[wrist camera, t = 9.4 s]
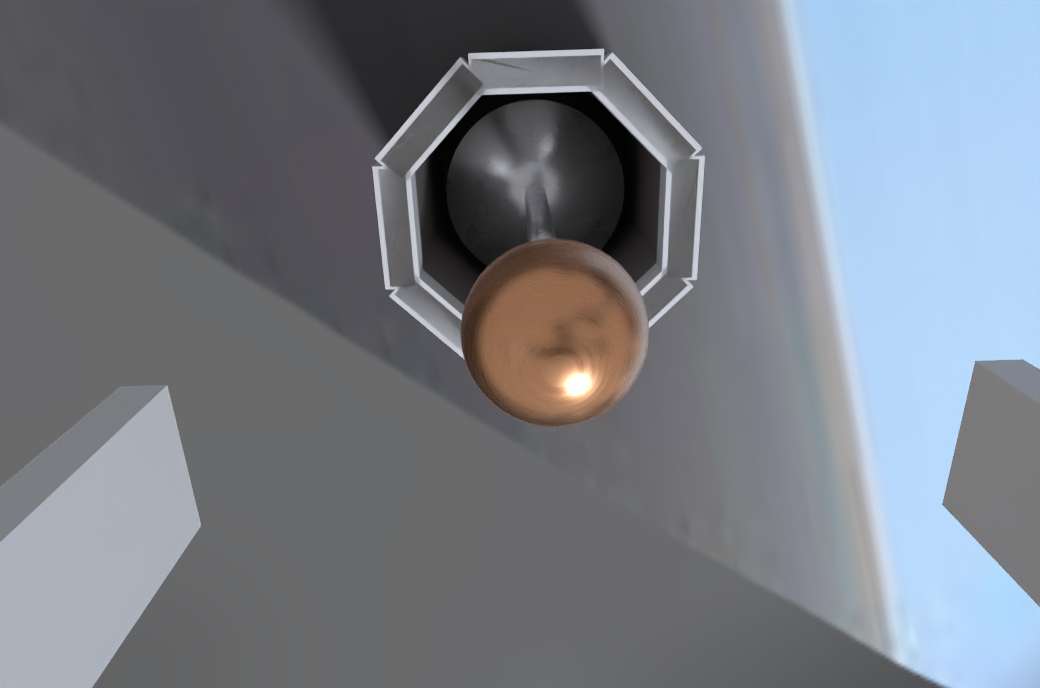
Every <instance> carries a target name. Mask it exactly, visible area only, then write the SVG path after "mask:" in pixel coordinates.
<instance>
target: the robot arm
mask: <svg viewBox="0 0 1040 688" xmlns="http://www.w3.org/2000/svg"><path fill="white" fill-rule="evenodd" d="M942 505H943V506H944V507H945V508H946V509H947V510H948V511H949V512H950V513H951V514H952V515H953V516H954V517H955V518H956V519H957V520H958V521H959V522H960V524H961V525H962V526H963V527H964V528H965V529H966V530H967V531H968V532H969V533H970V534H971V535H972V536H973V537H974V538H975V539H976V540H977V541H978V542H979V544H980V545H981V546H982V547H983V548H984V549H985V550H986V551H987V552H988V553H989V554H990V555H991V556H992V557H993V558H994V559H995V560H996V561H997V562H998V564H999V565H1000V566H1001V567H1002V568H1003V569H1004V570H1005V571H1006V572H1007V573H1008V574H1009V575H1010V576H1011V577H1012V578H1013V579H1014V580H1015V581H1016V582H1017V584H1018V585H1019V586H1020V587H1021V588H1022V589H1023V590H1024V591H1025V592H1026V593H1027V594H1028V595H1029V596H1030V597H1031V598H1032V599H1033V600H1034V601H1035V602H1036V603H1037V605H1038V606H1039V607H1040V370H1039V369H1038V368H1036V367H1034V366H1033V365H1031V364H1029V363H1028V362H1026V361H1024V360H996V361H975V365H974V369H973V374H972V378H971V382H970V387H969V391H968V395H967V400H966V404H965V408H964V413H963V417H962V421H961V426H960V430H959V434H958V439H957V443H956V447H955V452H954V456H953V460H952V465H951V469H950V473H949V478H948V482H947V486H946V491H945V495H944V499H943V504H942ZM200 526H201V523H200V519H199V515H198V511H197V507H196V502H195V498H194V494H193V490H192V486H191V482H190V478H189V474H188V469H187V465H186V461H185V457H184V453H183V449H182V444H181V441H180V436H179V432H178V428H177V424H176V420H175V415H174V412H173V407H172V403H171V399H170V395H169V390H168V386H167V385H160V386H129V387H128V386H126V387H125V386H124V387H119V388H118V389H117V390H116V391H115V392H113V393H112V394H111V395H110V396H109V397H107V398H106V399H105V400H104V401H103V402H101V403H100V404H99V405H98V406H97V407H95V408H94V409H93V410H92V411H91V412H89V413H88V414H87V415H86V416H85V417H84V418H82V419H81V420H80V421H79V422H78V423H76V424H75V425H74V426H73V427H71V428H70V429H69V430H68V431H67V432H65V433H64V434H63V435H62V436H61V437H59V438H58V439H57V440H56V441H55V442H53V443H52V444H51V445H50V446H49V447H48V448H46V449H45V450H44V451H43V452H41V453H40V454H39V455H38V456H37V457H35V458H34V459H33V460H32V461H31V462H30V463H28V464H27V465H26V466H25V467H24V468H22V469H21V470H20V471H19V472H17V473H16V474H15V475H14V476H13V477H11V478H10V479H9V480H8V481H7V482H6V483H4V484H3V485H2V486H1V487H0V688H92V687H93V685H94V684H95V682H96V681H97V679H98V678H99V676H100V674H101V673H102V672H103V670H104V669H105V667H106V666H107V664H108V663H109V661H110V660H111V658H112V657H113V656H114V654H115V653H116V651H117V650H118V648H119V646H120V645H121V644H122V642H123V641H124V639H125V638H126V636H127V635H128V633H129V632H130V630H131V629H132V627H133V626H134V624H135V623H136V621H137V620H138V618H139V617H140V615H141V614H142V612H143V611H144V609H145V608H146V606H147V605H148V604H149V602H150V601H151V599H152V597H153V596H154V595H155V593H156V592H157V590H158V589H159V587H160V586H161V584H162V583H163V581H164V580H165V578H166V577H167V575H168V574H169V572H170V571H171V569H172V568H173V566H174V565H175V563H176V562H177V560H178V559H179V557H180V556H181V555H182V553H183V551H184V550H185V548H186V547H187V546H188V544H189V542H190V541H191V540H192V538H193V536H194V535H195V534H196V532H197V531H198V529H199V528H200Z"/></svg>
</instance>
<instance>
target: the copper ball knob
mask: <svg viewBox="0 0 1040 688" xmlns="http://www.w3.org/2000/svg"><path fill="white" fill-rule="evenodd" d="M446 187H447V204H448V210H449V214H450V217H451V221H452V223H453V225H454V228H455V230H456V232H457V234H458V235H459V237H460V239H461V241H462V242H463V243H464V245H465V246H466V247H467V248H468V250H469V251H470V252H471V253H472V254H473V255H474V256H475V257H476V258H478V259H479V260H480V261H481V262H483V263H484V264H485V265H487V266H488V267H486V269H485V270H484V271H483V272H482V273H481V275H480V276H479V277H478V279H477V280H476V282H475V283H474V285H473V286H472V288H471V291H470V293H469V295H468V297H467V300H466V302H465V306H464V309H463V313H462V320H461V346H462V352H463V356H464V359H465V363H466V365H467V368H468V370H469V372H470V375H471V377H472V379H473V380H474V382H475V383H476V385H477V387H478V388H479V389H480V390H481V391H482V393H483V394H484V395H485V396H486V397H487V398H488V399H489V400H490V401H491V402H492V403H493V404H494V405H495V406H496V407H498V408H499V409H501V410H502V411H503V412H505V413H507V414H509V415H510V416H512V417H514V418H517V419H519V420H522V421H524V422H527V423H531V424H535V425H540V426H549V427H560V426H570V425H575V424H579V423H582V422H585V421H589V420H591V419H593V418H595V417H597V416H599V415H601V414H603V413H604V412H606V411H607V410H609V409H610V408H612V407H613V406H614V405H615V404H617V403H618V402H619V401H620V400H621V399H622V398H623V397H624V396H625V395H626V394H627V393H628V391H629V390H630V389H631V387H632V386H633V385H634V383H635V381H636V379H637V378H638V376H639V374H640V372H641V369H642V367H643V364H644V362H645V358H646V354H647V351H648V342H649V321H648V315H647V310H646V307H645V304H644V301H643V298H642V295H641V293H640V291H639V289H638V287H637V285H636V284H635V282H634V281H633V279H632V278H631V276H630V275H629V274H628V272H627V271H626V270H625V269H624V268H623V267H622V266H621V265H620V264H619V263H618V262H617V261H616V260H615V259H613V258H612V257H611V256H609V255H608V254H606V253H605V252H603V251H601V249H602V248H603V247H604V246H605V245H606V243H607V242H608V240H609V239H610V237H611V236H612V234H613V232H614V230H615V228H616V226H617V224H618V221H619V218H620V215H621V211H622V207H623V202H624V177H623V171H622V167H621V163H620V160H619V157H618V155H617V153H616V150H615V148H614V146H613V144H612V143H611V141H610V140H609V138H608V137H607V135H606V134H605V133H604V132H603V131H602V129H601V128H600V127H599V126H598V125H597V124H596V123H594V122H593V121H592V120H591V119H590V118H589V117H587V116H586V115H584V114H583V113H581V112H580V111H578V110H576V109H574V108H572V107H570V106H568V105H565V104H562V103H559V102H555V101H550V100H541V99H530V100H521V101H517V102H513V103H509V104H506V105H504V106H501V107H499V108H497V109H495V110H493V111H491V112H490V113H488V114H487V115H485V116H484V117H483V118H481V119H480V120H479V121H478V122H477V123H476V124H475V125H474V126H473V127H472V128H471V129H470V130H469V131H468V132H467V134H466V135H465V136H464V138H463V139H462V140H461V142H460V144H459V146H458V147H457V149H456V151H455V153H454V156H453V158H452V161H451V164H450V168H449V171H448V177H447V185H446Z"/></svg>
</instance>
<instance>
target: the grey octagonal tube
mask: <svg viewBox="0 0 1040 688" xmlns="http://www.w3.org/2000/svg"><path fill="white" fill-rule="evenodd" d="M468 62H469V63H468ZM468 62H467V61H466V60H465V59H464V58H463V57H460V58H459V59H458V60H457V62H456V63H455V64H454V65H453V66H452V67H451V69H450V70H449V71H448V72H447V73H446V75H445V76H444V77H443V78H442V79H441V80H440V82H439V83H438V84H437V85H436V86H435V88H434V89H433V90H432V91H431V92H430V94H429V95H428V96H427V97H426V98H425V99H424V101H423V102H422V103H421V104H420V105H419V107H418V108H417V109H416V110H415V111H414V113H413V114H412V115H411V116H410V117H409V118H408V120H407V121H406V122H405V123H404V124H403V126H402V127H401V128H400V129H399V130H398V132H397V133H396V134H395V135H394V136H393V137H392V139H391V140H390V141H389V142H388V143H387V145H386V146H385V147H384V148H383V149H382V151H381V152H380V153H379V154H378V155H377V156H376V158H375V159H376V160H377V161H378V163H376V164H375V165H374V166H372V168H373V178H374V187H375V197H376V206H377V215H378V225H379V234H380V243H381V253H382V262H383V271H384V281H385V289H393V290H392V292H391V294H390V295H389V296H390V297H391V298H392V299H393V300H394V301H396V302H397V303H398V304H399V305H400V306H401V307H403V308H404V309H405V310H406V311H407V312H409V313H410V314H411V315H412V316H413V317H415V318H416V319H417V320H418V321H419V322H421V323H422V324H423V325H424V326H425V327H427V328H428V329H429V330H430V331H431V332H432V333H434V334H435V335H436V336H437V337H438V338H440V339H441V340H442V341H443V342H444V343H446V344H447V345H448V346H449V347H450V348H452V349H453V350H454V351H455V352H456V353H458V354H459V355H460V356H461V357H462V358H463V359H464V356H463V352H462V346H461V320H462V313H463V309H464V306H465V302H466V300H467V297H468V295H469V293H470V291H471V288H472V286H473V285H474V283H475V282H476V280H477V279H478V277H479V276H480V275H481V273H482V272H483V271H484V270H485V269H486V267H488V266H487V265H485V264H484V263H483V262H481V261H480V260H479V259H478V258H476V257H475V256H474V255H473V254H472V253H471V252H470V251H469V250H468V248H467V247H466V246H465V245H464V243H463V242H462V241H461V239H460V237H459V235H458V234H457V232H456V230H455V228H454V225H453V223H452V221H451V217H450V214H449V210H448V204H447V187H446V185H447V177H448V171H449V168H450V164H451V161H452V158H453V156H454V153H455V151H456V149H457V147H458V146H459V144H460V142H461V140H462V139H463V138H464V136H465V135H466V134H467V132H468V131H469V130H470V129H471V128H472V127H473V126H474V125H475V124H476V123H477V122H478V121H479V120H480V119H481V118H483V117H484V116H485V115H487V114H488V113H490V112H491V111H493V110H495V109H497V108H499V107H501V106H504V105H506V104H509V103H513V102H517V101H521V100H530V99H541V100H550V101H555V102H559V103H562V104H565V105H568V106H570V107H572V108H574V109H576V110H578V111H580V112H581V113H583V114H584V115H586V116H587V117H589V118H590V119H591V120H592V121H593V122H594V123H596V124H597V125H598V126H599V127H600V128H601V129H602V131H603V132H604V133H605V134H606V135H607V137H608V138H609V140H610V141H611V143H612V144H613V146H614V148H615V150H616V153H617V155H618V157H619V160H620V163H621V167H622V171H623V177H624V202H623V207H622V211H621V215H620V218H619V221H618V224H617V226H616V228H615V230H614V232H613V234H612V236H611V237H610V239H609V240H608V242H607V243H606V245H605V246H604V247H603V248H602V249H601V251H603V252H605V253H606V254H608V255H609V256H611V257H612V258H613V259H615V260H616V261H617V262H618V263H619V264H620V265H621V266H622V267H623V268H624V269H625V270H626V271H627V272H628V274H629V275H630V276H631V278H632V279H633V281H634V282H635V284H636V285H637V287H638V289H639V291H640V293H641V295H642V298H643V301H644V304H645V307H646V310H647V315H648V321H649V328H650V327H651V326H652V325H653V324H654V323H655V322H656V321H657V320H658V319H659V318H660V317H661V316H662V315H664V314H665V313H666V312H667V311H668V310H669V309H670V308H671V307H672V306H673V305H674V304H675V303H676V302H677V301H679V300H680V299H681V298H682V297H683V296H684V295H685V294H686V293H687V292H688V291H689V290H690V289H691V288H693V286H692V285H691V283H690V282H689V281H688V280H697V268H698V253H699V238H700V222H701V207H702V192H703V177H704V162H705V156H704V155H702V154H700V153H698V152H699V151H700V150H701V149H702V147H701V146H700V145H699V144H698V143H697V142H696V141H695V140H694V139H693V138H692V137H691V136H690V135H689V134H688V132H687V131H686V130H685V129H684V128H683V127H682V126H681V125H680V124H679V123H678V122H677V121H676V120H675V119H674V118H673V116H672V115H671V114H670V113H669V112H668V111H667V110H666V109H665V108H664V107H663V106H662V105H661V104H660V103H659V102H658V100H657V99H656V98H655V97H654V96H653V95H652V94H651V93H650V92H649V91H648V90H647V89H646V88H645V87H644V86H643V84H642V83H641V82H640V81H639V80H638V79H637V78H636V77H635V76H634V75H633V74H632V73H631V72H630V71H629V70H628V68H627V67H626V66H625V65H624V64H623V63H622V62H621V61H620V60H619V59H618V58H617V57H616V56H615V55H614V54H613V52H608V53H607V54H606V55H605V56H604V49H583V50H553V51H522V52H492V53H468ZM527 425H528V434H549V433H558V427H549V426H540V425H535V424H531V423H527Z"/></svg>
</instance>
